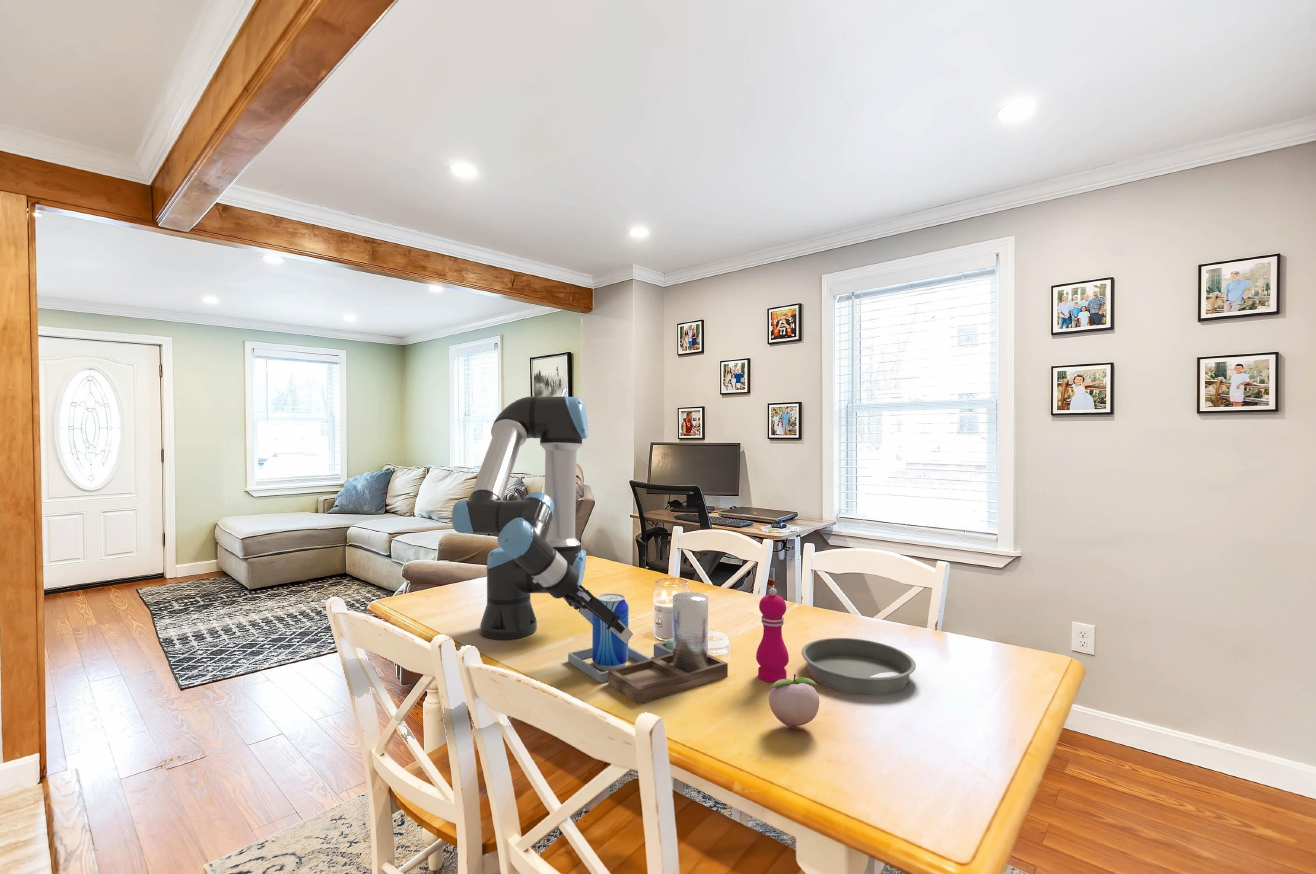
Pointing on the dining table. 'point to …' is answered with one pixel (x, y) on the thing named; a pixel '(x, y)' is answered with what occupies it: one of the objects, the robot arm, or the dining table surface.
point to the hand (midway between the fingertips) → (613, 630)
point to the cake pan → (857, 665)
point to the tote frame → (591, 671)
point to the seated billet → (690, 631)
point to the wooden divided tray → (662, 677)
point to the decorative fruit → (794, 701)
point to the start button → (669, 643)
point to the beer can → (610, 635)
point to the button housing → (661, 649)
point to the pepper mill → (772, 639)
